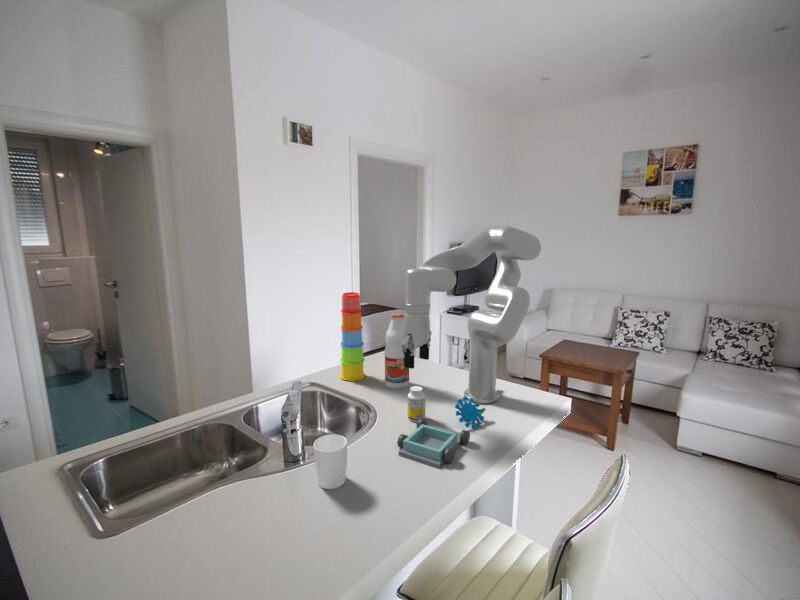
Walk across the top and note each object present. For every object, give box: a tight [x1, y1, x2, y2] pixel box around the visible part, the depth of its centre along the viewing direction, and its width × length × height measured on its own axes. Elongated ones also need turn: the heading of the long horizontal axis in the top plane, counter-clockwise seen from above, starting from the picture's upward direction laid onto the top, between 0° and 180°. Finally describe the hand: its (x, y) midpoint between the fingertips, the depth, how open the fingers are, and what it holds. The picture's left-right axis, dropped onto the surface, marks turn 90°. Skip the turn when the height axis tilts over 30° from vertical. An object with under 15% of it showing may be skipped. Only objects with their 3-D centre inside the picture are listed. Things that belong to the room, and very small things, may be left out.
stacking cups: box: [339, 291, 366, 382], centre depth 164 cm, size 10×10×35 cm
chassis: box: [396, 418, 471, 469], centre depth 115 cm, size 18×15×4 cm
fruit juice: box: [384, 312, 410, 390], centre depth 156 cm, size 9×9×28 cm
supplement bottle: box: [407, 385, 426, 423], centre depth 130 cm, size 6×6×10 cm
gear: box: [454, 396, 487, 429], centre depth 129 cm, size 11×6×10 cm
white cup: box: [313, 434, 348, 490], centre depth 98 cm, size 8×8×10 cm
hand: (416, 363), depth 128 cm, fingers open, 9 cm apart
